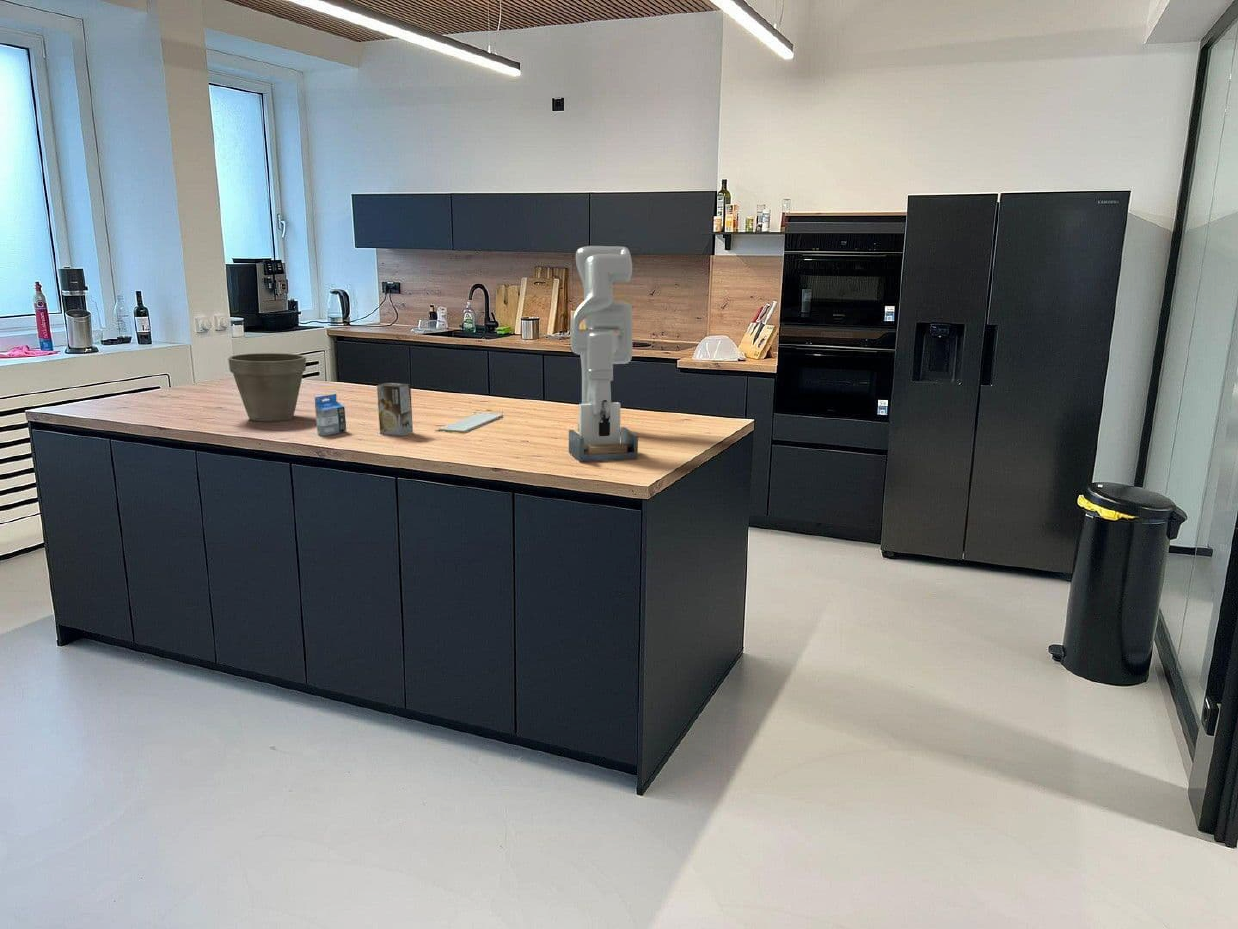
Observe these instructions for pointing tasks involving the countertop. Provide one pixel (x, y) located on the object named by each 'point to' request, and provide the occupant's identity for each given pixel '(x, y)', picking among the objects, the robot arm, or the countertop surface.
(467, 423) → the baseboard molding
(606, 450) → the offcut stack
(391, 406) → the coffee box
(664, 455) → the countertop surface
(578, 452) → the offcut rack
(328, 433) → the label tape box
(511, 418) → the countertop surface
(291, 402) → the plant pot
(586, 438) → the white rectangular panel
